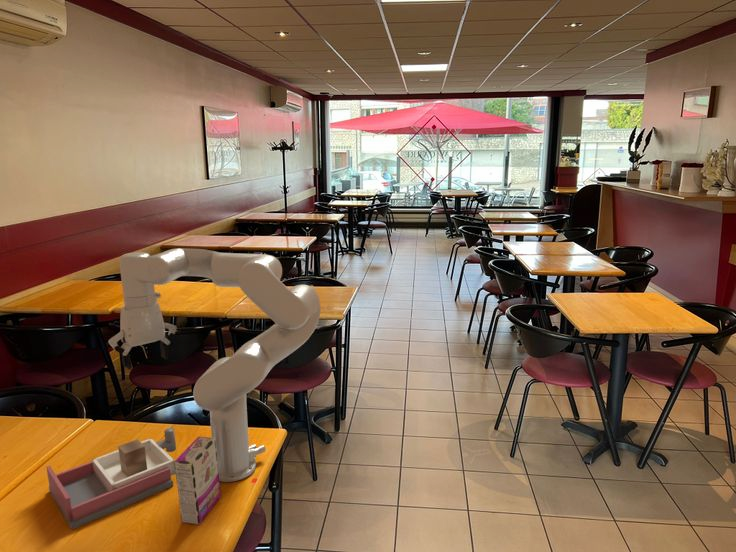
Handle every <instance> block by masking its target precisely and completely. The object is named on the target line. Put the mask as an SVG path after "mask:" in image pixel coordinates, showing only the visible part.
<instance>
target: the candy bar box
mask: <svg viewBox="0 0 736 552" xmlns="http://www.w3.org/2000/svg"><path fill="white" fill-rule="evenodd" d="M174 463H175V471H176V474H175V479H176V485H177V486H176V487H177V492H178V494H177V495H178V501H179V510H180V519H181V523H183V524H192V525H197V526H200V525H201V523H202V522H203V521H204V520H205V518H206V517H207V516H208V514H209V512H211V510H212V509H213V507H214V506H215V505H216V504H217V502H218V501H219V499H221V497H222V493H221V492H222V491H221V483H220V482H221V481H219V471H218V462H217V452H216V442H215V438H212V437H206V436H197V437H196V439H195V440H193V441H192V442H191V444H190V445H189V446H188V447H187V448H186V449H185V450H183V452H182V453H181V454H180V455H179V456H178V457H176V459H174Z"/></svg>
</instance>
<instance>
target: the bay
mask: <svg viewBox="0 0 736 552" xmlns="http://www.w3.org/2000/svg"><path fill="white" fill-rule="evenodd" d="M46 473H47V479H48V491H49V492H50V495H51V496H52V498H53V500H54V501H55V503H56V505H57V506H58V508H59V510H60V511H61V513H62V515H63V517H64V518H66V519H65V520H67V521H66V522H67V524H68V526H69V528H70V529H71V530H75V529H77V528H79V527H81V525H82V526H83V525H86V524H89V523H91V522H93V521H96V520H97V519H100V518H102V517H104V516H107V515H109V514H111V513H114V512H116V511H118V510H121V509H123V508H125V507H128V506H130V505H133V504H134V503H137V502H139V501H141V500H144V499H147V498H148V497H151V496H154V495H155V494H158V493H160V492H162V491H164V490H167V489H168V488H171V487H173V486H174V481H173V479H172V476H171V474H170V468H166V469H164V470H161V471H159V472H156V473H154V474H151V475H149V476H147V477H144V478H142V479H139V480H137V481H134V482H132V483H129V484H127V485H125V486H122V487H120V488H117V489H115V490H112V491H110V492H108V491H107V490H106V488H105V487H104V486H103V484H102V483H101V482H100V480H99V479H98V478H97V476H96V475H95V474H94V469H93V462H92V461H91V460H90V461H89V462H86V463H83V464H80V465H78V466H75V467H73V468H69V469H66V470H64V471H61V472H59V473H55V472H54V470H53V468H52V467H51V465H46ZM88 522H89V523H88Z"/></svg>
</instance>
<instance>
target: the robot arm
mask: <svg viewBox="0 0 736 552" xmlns="http://www.w3.org/2000/svg"><path fill="white" fill-rule="evenodd" d="M119 269H120V278H121V286H122V287H121V288H122V294H123V295H122V296H123V303H124V305H123V307H121V309H120V319H119V321H120V331H119V332H118V333H117V334H115V335H114V336H112V337H111V338H110V339H108V344H109V345H110V346H111V347H112V349H113V350H114V351H116V352H117V353H120V356H121V361H122V366H123V367H125V368H126V370H131V369H132V366H133V365H132V361H131V360H132V358H131V354H129V352H130V351H131V349H132V348H133V347H137V346H142V345H146V344H150V343H154V342H158V341H160V344H159V348H160V356H161V358H163V359H164V360H169V355H170V347H169V345H170V344H171V341H172V340H173V338H175V334H176V331H177V326H176V324H175V325H174V324H171V323H168V322H164V318H163V313H162V310H161V307H160V304H159V302H157V301H158V299H160V298H161V297H162V295H161V293H160V292H156V290H155V289H156V288H155V285H156V286H160V285H161V286H162V285H167V284H169V283H170V282H172V281H175V280H177V279H178V278H180V277H200V278H201V277H202V278H207V279H210V280H212V283H213V284H214V285H215V286H216V287H220V288H240V290H241V291H242V292H243V294H244V295H245V296H246V297H247V298H248V299H249V300H250V301H251V302H252V303H253V304H254V305H255V306H256V307H257V308H259V309H260V310H261V311H262V312H263V313H264V314H265V315H266V316H267V317H268V318H269V319H271V320H272V321H273V322H274V324H273V325H271V326H270V327H269V328H268V329H266V330H264V331H263V332H262V333H260V334H258V335H257V336H256V337H253V338H252V339H250V340H248V341H247V342H245V343H244V344H243V345H241V347H239V348H238V349H237V350H236V351H235V353H233V354H232V355H231V356H225V357H221V358H219V359H218V360H216V361H215V362H213V364H211V366H209V368H208V369H206V371H204V373H203V374H202V375H201V376H200V377H199V378H198V379H197V380H196V383H195V385H194V387H193V392H192V393H193V394H192V396H193V399H194V402H195V403H196V405H197V406H198V407H199V408H200V409H202V410H205V411H208V412H209V417H210V420H209V421H210V422H209V423H210V432H211V433H210V434H211V438H215V442H216V452H217V462H218V471H219V482H223V483H232V482H237V481H241V480H244V479H246V478H248V477H249V476H251V475H252V474H253V473H254V471H255V470H256V468H257V461H256V457H257V456H258V455H261V454H263V453H265V452H266V447H265V445H264V444H262V445H260V446H258V447H257V445H256V444H252V445H250V441H249V427H248V411H247V410H248V408H247V407H248V406H247V394H248V393H250V392H252V391H253V390H254V389H255V388H257V387H258V386H259V385H260V384H262V382H263V381H264V380H265V378H266V377H267V376H268V374H269V372H270V371H271V370H272V369H273V368H274V367H275V365H277V364H278V363H280V362H281V361H282V360H284V359H285V358H288V356H290V355H291V354H293V353H294V352H295V351H296V350H298V349H299V348H301V347H302V345H304V344H305V343H306V342H307V341H308V340H309V339H310V337H311V336H312V334H313V333H314V332H315V330H316V328H317V326H318V323H319V321H320V317H321V301H320V297H319V294H318V292H317V291H316V290H315V288H313V286H311V285H308V284H297V285H294V286H292V287H290V288H288V287H287V286H286V284H284V283H283V281H281V278H282V276H283V267H282V264H281V262H280V260H279V259H278V258H276V257H275V256H274V255H270V254H263V253H262V254H261V253H260V254H259V253H235V252H234V253H233V252H220V251H219V252H218V251H214V250H208V249H202V248H185V247H184V248H179V247H178V248H171V249H168V250H166V251H162V252H160V253H156V254H154V255H151V254H150V253H148V252H145V251H144V252H143V251H135V252H128V253H124V254H122V255H121V256H120V257H119ZM166 329H168V333H167V334H166ZM120 340H121V342H122V345H121V346H119V345H118V342H119V341H120Z"/></svg>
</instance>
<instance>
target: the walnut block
mask: <svg viewBox="0 0 736 552" xmlns="http://www.w3.org/2000/svg"><path fill="white" fill-rule="evenodd" d="M141 442H142V441H140V440H139V439H134V440H132V441H129V442H126V443H123V444H120V445H117V447H118V449H117V450H119V456H120V464H121V470H122V471H123V473H124V474H125V475H126V476H127V477H130V476H132V475H135V474H137V473H140V472H142V471H145V470H147V462H146V454H145V446H144V445H143V444H142V443H141Z"/></svg>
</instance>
